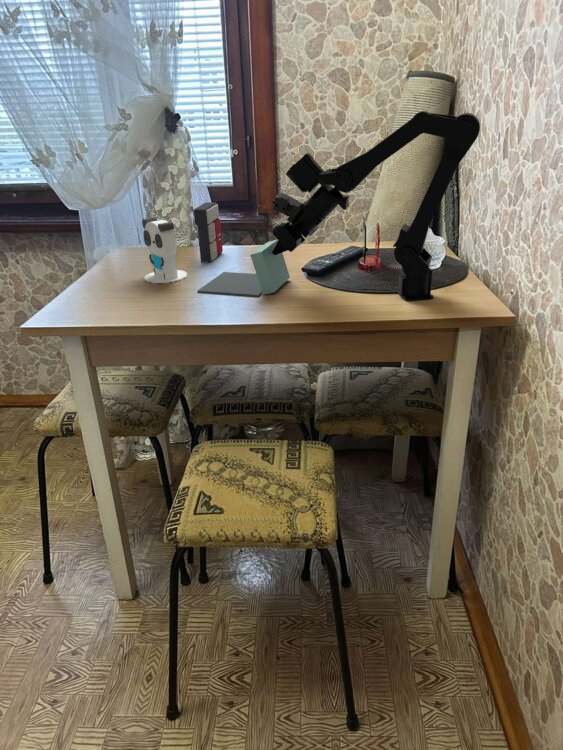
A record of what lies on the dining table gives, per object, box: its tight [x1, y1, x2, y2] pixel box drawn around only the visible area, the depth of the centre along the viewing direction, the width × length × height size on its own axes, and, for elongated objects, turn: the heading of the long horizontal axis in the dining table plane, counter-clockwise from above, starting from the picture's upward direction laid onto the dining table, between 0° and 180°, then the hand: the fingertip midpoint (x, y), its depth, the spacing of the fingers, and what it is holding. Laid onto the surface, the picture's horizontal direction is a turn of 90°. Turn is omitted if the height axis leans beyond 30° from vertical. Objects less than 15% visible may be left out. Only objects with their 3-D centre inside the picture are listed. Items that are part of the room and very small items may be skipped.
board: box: [250, 239, 291, 296], centre depth 139 cm, size 3×12×10 cm, turn 162°
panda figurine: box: [141, 216, 188, 284], centre depth 149 cm, size 12×11×15 cm
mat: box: [197, 271, 263, 298], centre depth 144 cm, size 16×16×1 cm
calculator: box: [193, 201, 223, 263], centre depth 165 cm, size 11×4×15 cm, turn 168°
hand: (273, 253), depth 137 cm, fingers closed
